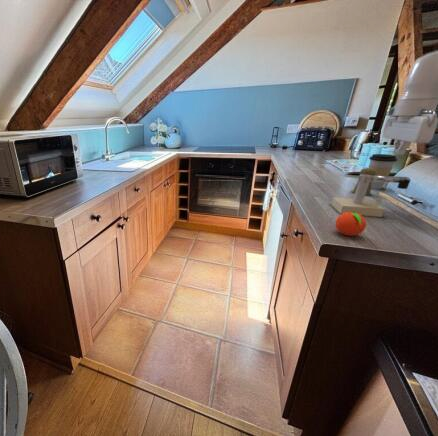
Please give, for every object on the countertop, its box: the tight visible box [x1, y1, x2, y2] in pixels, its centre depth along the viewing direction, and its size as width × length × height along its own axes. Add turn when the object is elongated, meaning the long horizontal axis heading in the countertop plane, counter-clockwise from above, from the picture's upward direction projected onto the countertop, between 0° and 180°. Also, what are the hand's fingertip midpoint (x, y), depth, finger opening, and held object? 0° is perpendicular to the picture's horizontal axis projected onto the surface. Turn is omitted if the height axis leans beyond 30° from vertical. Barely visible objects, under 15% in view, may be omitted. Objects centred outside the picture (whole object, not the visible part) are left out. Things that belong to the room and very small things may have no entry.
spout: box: [357, 173, 411, 190], centre depth 84 cm, size 14×4×4 cm, turn 71°
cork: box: [352, 167, 376, 196], centre depth 106 cm, size 6×6×11 cm
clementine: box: [335, 212, 367, 237], centre depth 70 cm, size 8×7×7 cm
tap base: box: [330, 181, 386, 218], centre depth 87 cm, size 12×10×11 cm
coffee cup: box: [368, 153, 398, 190], centre depth 113 cm, size 9×9×15 cm
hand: (397, 154), depth 83 cm, fingers closed
